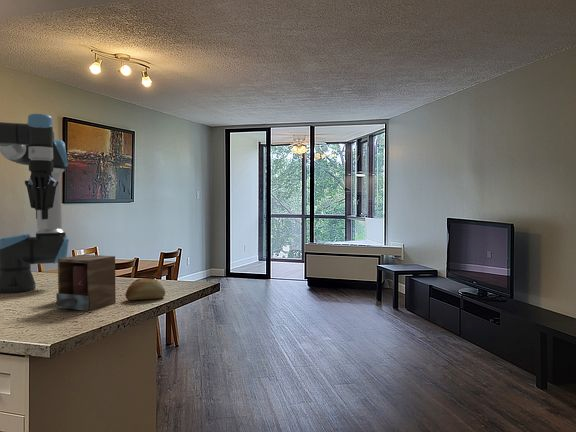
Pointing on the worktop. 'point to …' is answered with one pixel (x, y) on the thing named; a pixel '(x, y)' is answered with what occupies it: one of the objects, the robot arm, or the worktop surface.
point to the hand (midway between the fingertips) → (42, 228)
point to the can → (80, 280)
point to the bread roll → (145, 290)
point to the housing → (90, 278)
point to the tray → (72, 301)
